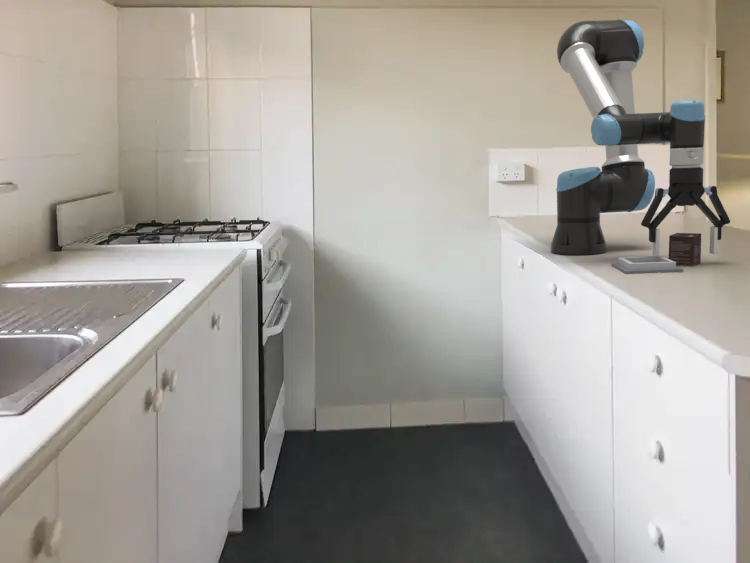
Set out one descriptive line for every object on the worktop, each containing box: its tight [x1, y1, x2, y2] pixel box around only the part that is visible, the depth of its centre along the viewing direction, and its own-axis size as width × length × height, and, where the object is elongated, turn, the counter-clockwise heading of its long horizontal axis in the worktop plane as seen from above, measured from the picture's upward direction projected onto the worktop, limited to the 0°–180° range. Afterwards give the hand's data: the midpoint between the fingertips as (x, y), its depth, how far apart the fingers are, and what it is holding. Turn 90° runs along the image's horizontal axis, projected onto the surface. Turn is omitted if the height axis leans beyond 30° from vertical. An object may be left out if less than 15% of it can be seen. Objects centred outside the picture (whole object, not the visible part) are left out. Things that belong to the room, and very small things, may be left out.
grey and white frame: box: [611, 255, 684, 275], centre depth 182 cm, size 13×13×2 cm
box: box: [668, 232, 702, 267], centre depth 186 cm, size 6×6×7 cm
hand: (684, 255), depth 186 cm, fingers open, 13 cm apart
